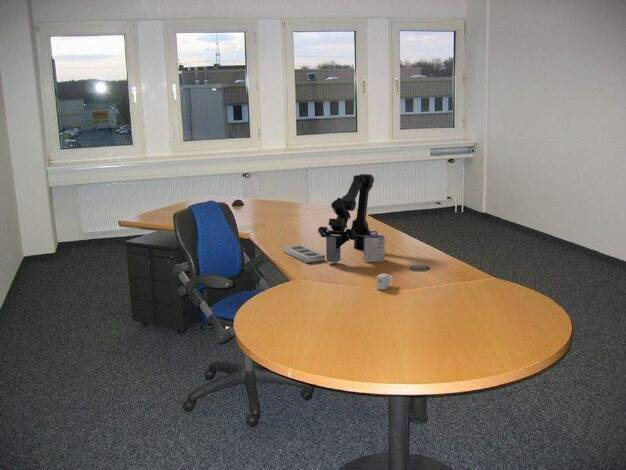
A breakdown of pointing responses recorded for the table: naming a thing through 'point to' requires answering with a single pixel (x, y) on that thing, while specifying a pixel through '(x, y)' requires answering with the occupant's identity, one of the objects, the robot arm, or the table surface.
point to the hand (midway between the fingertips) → (332, 248)
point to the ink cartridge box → (374, 247)
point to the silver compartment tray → (304, 254)
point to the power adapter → (383, 281)
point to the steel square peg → (332, 248)
